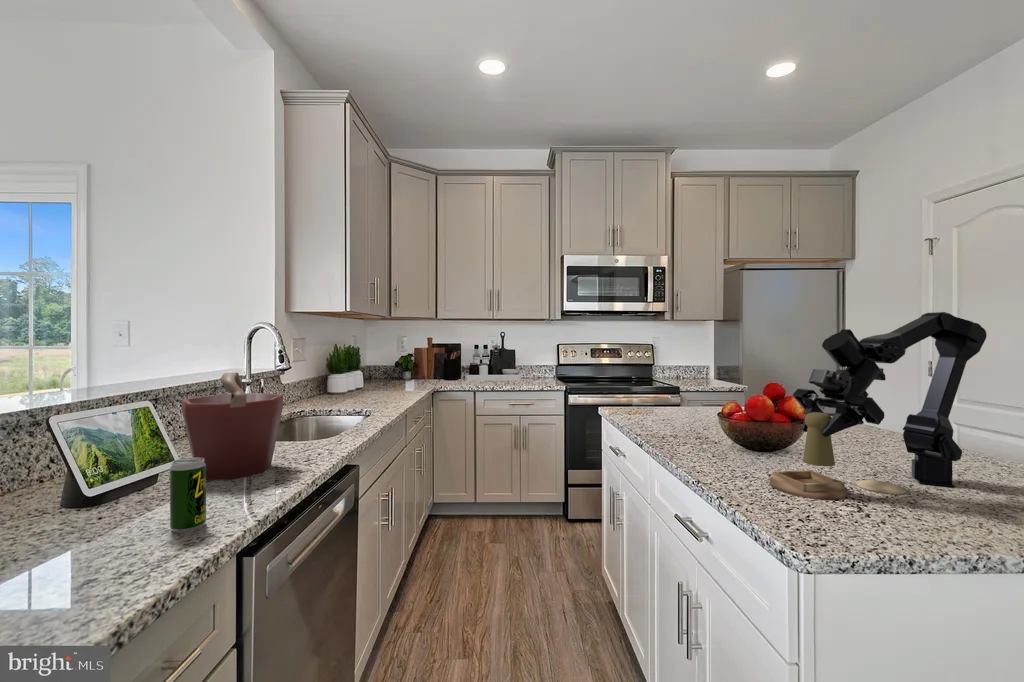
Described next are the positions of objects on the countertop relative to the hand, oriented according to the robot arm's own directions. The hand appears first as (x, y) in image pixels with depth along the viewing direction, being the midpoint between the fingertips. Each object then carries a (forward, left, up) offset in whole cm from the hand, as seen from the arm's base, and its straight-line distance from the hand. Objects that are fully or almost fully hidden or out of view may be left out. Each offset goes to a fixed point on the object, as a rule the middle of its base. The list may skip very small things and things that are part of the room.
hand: (813, 433), depth 106 cm
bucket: (+130, +48, -13) cm, 139 cm away
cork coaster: (-14, -11, -13) cm, 22 cm away
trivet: (+1, -3, -13) cm, 14 cm away
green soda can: (+102, +74, -13) cm, 126 cm away
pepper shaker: (-1, -1, -7) cm, 7 cm away
